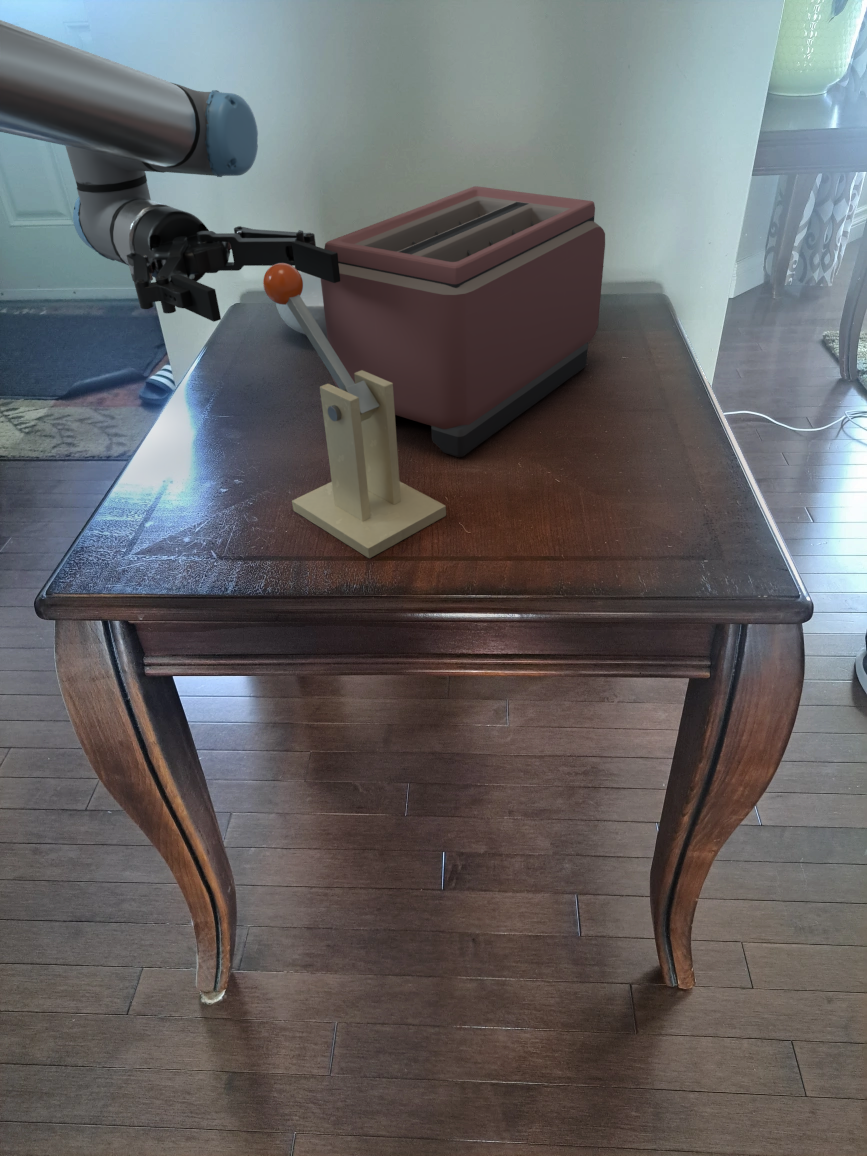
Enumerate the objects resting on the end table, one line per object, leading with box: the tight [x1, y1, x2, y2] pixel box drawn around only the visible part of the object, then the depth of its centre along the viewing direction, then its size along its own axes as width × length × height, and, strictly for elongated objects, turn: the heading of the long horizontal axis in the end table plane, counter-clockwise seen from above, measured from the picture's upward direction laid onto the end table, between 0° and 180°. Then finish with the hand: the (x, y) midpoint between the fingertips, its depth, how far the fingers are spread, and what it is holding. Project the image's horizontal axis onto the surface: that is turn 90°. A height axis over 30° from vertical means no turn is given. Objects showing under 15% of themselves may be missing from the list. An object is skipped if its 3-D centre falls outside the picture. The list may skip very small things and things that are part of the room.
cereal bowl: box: [274, 271, 328, 340], centre depth 121 cm, size 17×17×7 cm
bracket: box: [291, 370, 447, 559], centre depth 79 cm, size 12×10×14 cm
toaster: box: [321, 185, 606, 458], centre depth 99 cm, size 19×36×21 cm, turn 144°
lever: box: [262, 263, 380, 422], centre depth 76 cm, size 16×4×4 cm
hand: (278, 286), depth 77 cm, fingers open, 13 cm apart
